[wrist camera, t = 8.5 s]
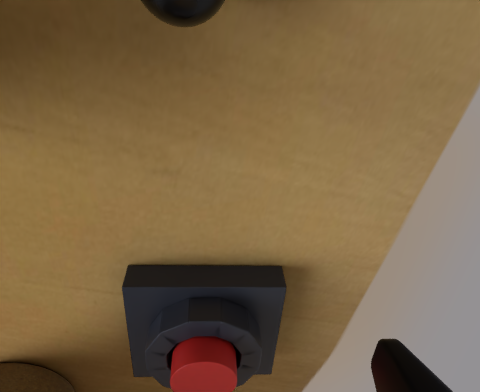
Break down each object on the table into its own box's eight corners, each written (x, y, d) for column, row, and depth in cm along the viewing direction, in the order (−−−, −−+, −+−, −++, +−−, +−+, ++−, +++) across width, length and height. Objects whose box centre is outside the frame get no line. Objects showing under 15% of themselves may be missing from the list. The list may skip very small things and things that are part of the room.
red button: (173, 374, 23) (170, 403, 21) (171, 334, 21) (168, 362, 19) (233, 373, 23) (235, 401, 22) (237, 333, 21) (239, 361, 20)
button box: (138, 353, 26) (128, 403, 23) (127, 264, 22) (115, 312, 19) (267, 351, 27) (274, 399, 24) (281, 265, 23) (292, 311, 20)
